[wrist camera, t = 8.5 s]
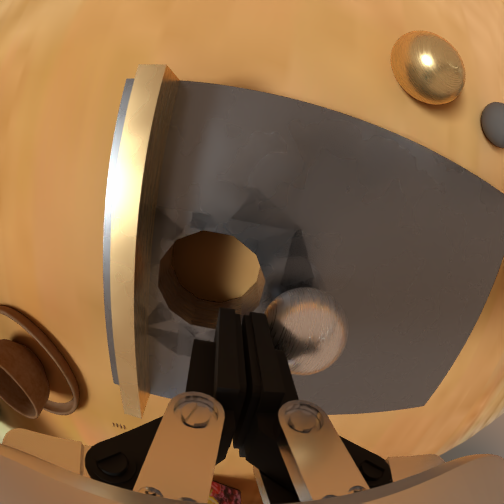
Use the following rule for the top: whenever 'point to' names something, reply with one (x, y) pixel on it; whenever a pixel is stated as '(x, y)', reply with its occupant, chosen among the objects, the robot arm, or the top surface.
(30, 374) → the place setting
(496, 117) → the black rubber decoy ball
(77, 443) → the robot arm
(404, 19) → the top surface
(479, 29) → the top surface
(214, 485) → the snack box
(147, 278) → the plate
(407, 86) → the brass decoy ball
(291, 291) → the steel ball
